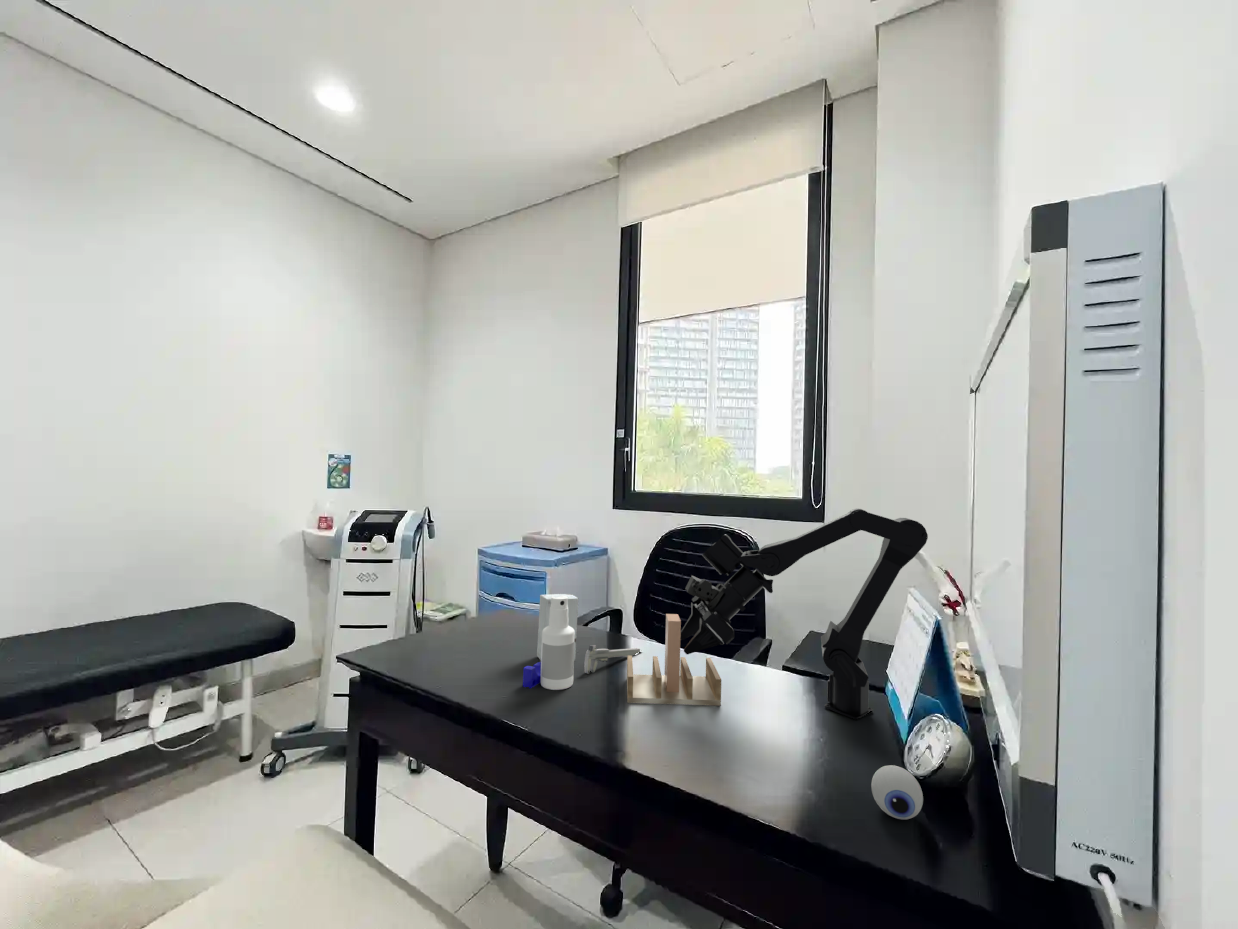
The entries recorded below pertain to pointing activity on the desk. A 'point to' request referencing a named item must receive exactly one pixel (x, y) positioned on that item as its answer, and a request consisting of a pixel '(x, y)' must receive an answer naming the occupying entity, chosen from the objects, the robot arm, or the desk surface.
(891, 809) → the eyeball
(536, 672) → the cable holder
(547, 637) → the spray bottle
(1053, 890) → the desk surface
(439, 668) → the desk surface
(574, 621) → the skincare box
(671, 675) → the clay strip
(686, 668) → the rack
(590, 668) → the caliper
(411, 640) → the desk surface
